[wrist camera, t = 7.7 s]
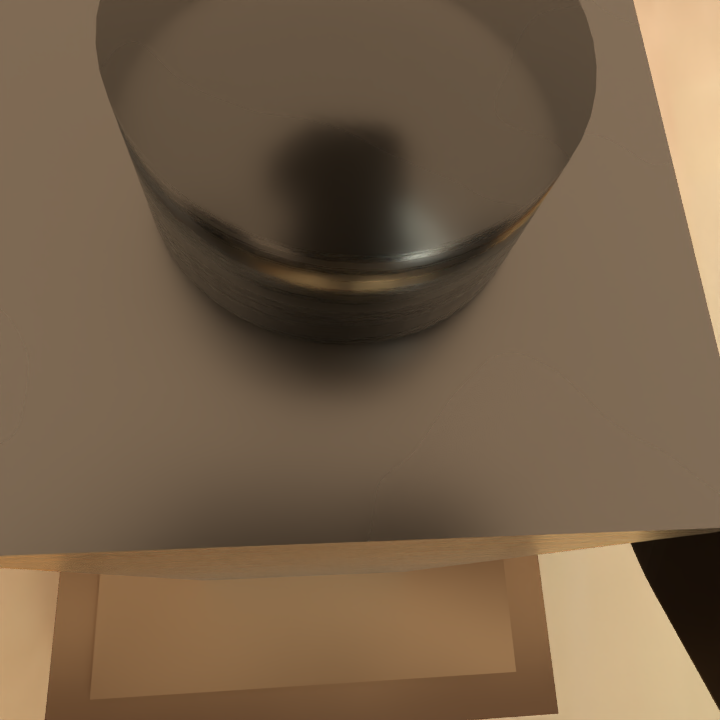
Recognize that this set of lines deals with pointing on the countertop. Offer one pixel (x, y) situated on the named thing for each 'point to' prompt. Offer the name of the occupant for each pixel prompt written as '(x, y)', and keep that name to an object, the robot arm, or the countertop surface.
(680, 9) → the countertop surface
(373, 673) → the stand
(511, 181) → the housing
